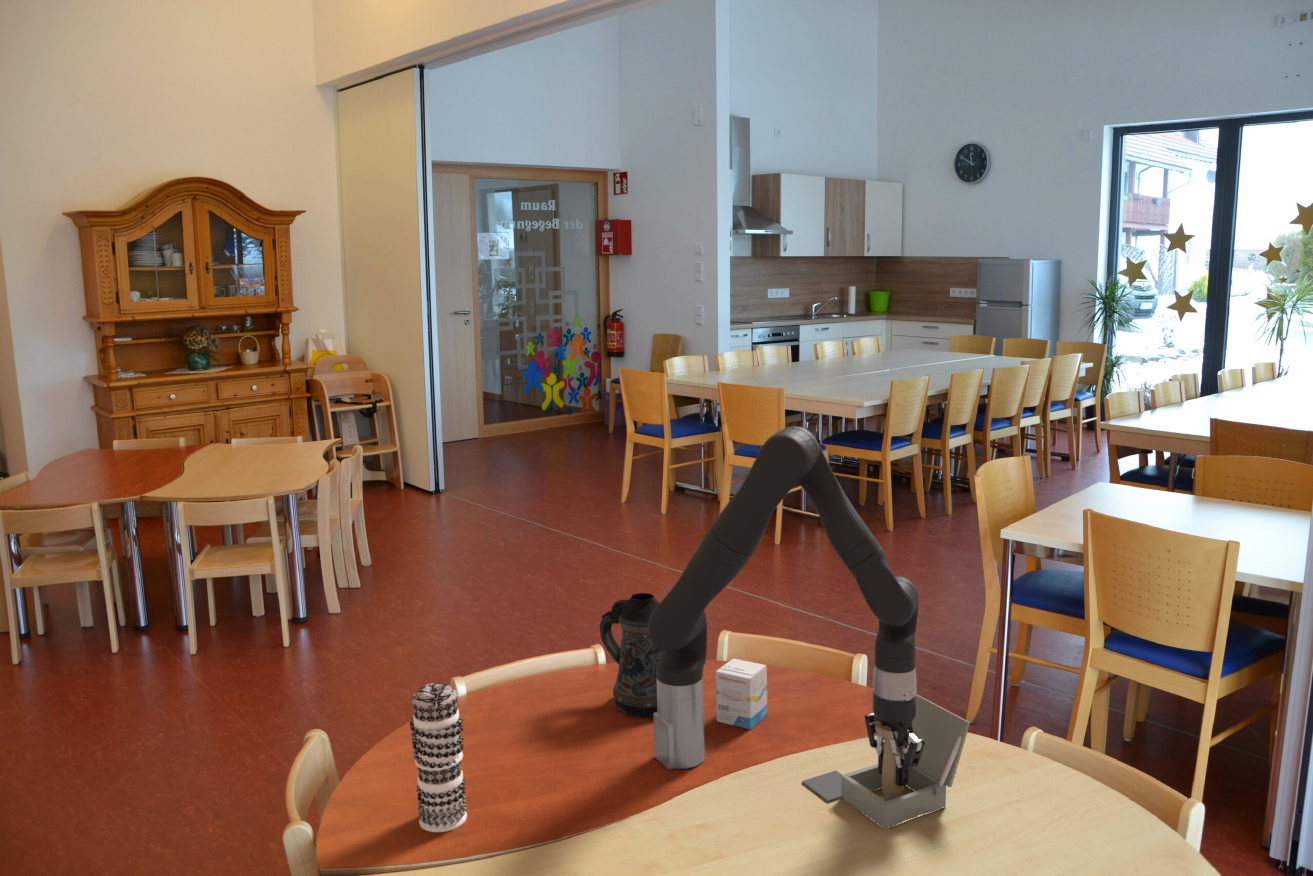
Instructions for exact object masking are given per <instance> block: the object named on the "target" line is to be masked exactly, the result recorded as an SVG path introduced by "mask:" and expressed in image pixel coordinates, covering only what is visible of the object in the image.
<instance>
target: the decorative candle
mask: <svg viewBox="0 0 1313 876" xmlns="http://www.w3.org/2000/svg"><path fill="white" fill-rule="evenodd" d="M458 696H459V693H458V691H457V690H456V689H453V688H452V686H450V685H449V684H446V683H443V682H433V683H432V682H431V683H427V684H424V685H422V686H421V687H419V688H418V690H417V692H416V693H414V694H413V695H412V696H411V699H410V701H411V703H412V704H413V706H412V707H413V715H412V718H411V721H410V722H409V725H410V727H409V729H410V730H411V731H412V732H411V734H410V736H411V740H412V743H411V744H412V749H413V750H414V751H413V752H412V753H413V759H414V763H415V766H416V767H417V773H418V775H417V785H416V792H417V798H416V799H417V801H418V802H417V811H418V818H419V820H418V823H419V826H420V828H421V829H423V830H425V831H426V832H430V833H445V832H448V831H452V830H455V829H457V828H460V827H461V826H462V825H463V824H464V823H465V822H466V821H467V817H468V813H467V812H466V811H467V809H468V808H467V804H466V803H467V796H466V795H465V794H466V792H467V791H466V787H465V786H466V785H465V784H466V782H465V781H466V780H465V779H464V772H463V770H462V769H463V768H462V760H463V758H464V753H463V751H464V744H463V743H462V742H464V737H463V735H462V732H463V731H464V726H463V725H462V723H463V722H464V719H463V717H462V716H461V715H460V712H459V711H460V709H459V708H458V699H457V698H458Z"/></svg>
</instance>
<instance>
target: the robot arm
mask: <svg viewBox="0 0 1313 876" xmlns="http://www.w3.org/2000/svg"><path fill="white" fill-rule="evenodd" d="M797 484H798V485H799V486H800V487H801V488H802V489H803V490H804V491H805V493H806V495H807V496H808V498H809V499H810V501H811V503H812V504H813V506H814V508H815V510H816V512H817V514H818V517H819V520H820V521H821V525H822V527H823V529H824V531H825V534H826V536H827V539H828V540H829V542H830V545H831V546H832V548H833V550H834V551H835V552H836V554H837V555H838V556H839V558H840V559H841V561H842V562H843V564H844V565H845V567H846V568H847V569H848V571H849V572H850V573H851V574H852V576H853V577H854V580H855V581H856V583H857V586H858V588H859V590H860V592H861V593H862V596H863V598H864V600H865V602H866V604H867V606H868V608H869V609H870V611H871V612H872V613H873V615H874V616H875V617H876V619H878V632H877V634H876V637H875V643H874V668H873V675H872V713H868V714H865V715H864V722H865V727H866V731H867V737H868V742H869V746H870V747H871V748H872V749H875V753H876V755H877V764H878V769H879V773H880V774H881V775H882V765H883V753H884V737H882V736H881V735H879V734H878V733H877V732H876V722H877V721H880V722H881V723H882V724H879V725H881V726H885V725H886V726H888V727H890V728H891V729H890V730H889V731H891V735H890V736H891V739H892V740H890V741H891V747H892V753H893V754H894V755H895V758H896V764H897V766H896V785H898V786H899V787H901V786H904V787H905V785H906V784H907V783H908V782H909V768H911V767H914V766H918V764H919V761H920V758H921V755H922V752H923V749H924V746H925V741H924V739H918V738H917V737H916V736H915V735H914V734H913V733H914V731H913V727H912V721H913V719H914V717H915V715H916V694H917V675H916V674H917V673H916V672H917V671H916V630H917V625H918V615H919V592H918V589H917V588H916V586H915V584H914V583H913V582H912V581H911V580H909V579H908V578H906V577H904V576H900V575H898V576H895V574H894V573H893V571H892V570H891V568H890V565H889V558H888V555H887V553H886V552H885V550H884V548H883V547H882V545H881V544H880V543H879V541H878V540H877V539H876V537H875V535H874V534H873V533H872V531H871V530H870V529H869V527H868V526H867V525H866V523H865V522H864V520H863V519H862V518H861V516H860V515H859V513H858V512H857V510H856V509H855V507H854V506H853V504H852V502H851V501H850V499H849V498H848V495H846V493H845V491H844V489H843V488H842V485H841V484H840V482H839V480H838V479H837V477H836V475H835V473H834V472H833V469H832V468H831V465H830V463H829V461H828V458H826V455H825V453H824V451H823V449H822V447H821V446H820V443H819V441H818V439H817V438H816V437H815V435H813V433H811V431H809V430H808V429H806V428H805V427H801V426H796V425H795V426H788V427H784V428H782V429H781V430H779V431H777V432H776V433H774V434H772V435H771V436H769V438H767V439H766V441H765V442H763V445H762V446H761V448H760V449H759V452H758V454H757V455H756V458H755V460H754V462H753V464H752V466H751V468H750V469H749V472H748V473H747V475H746V477H745V479H744V481H743V483H742V485H741V486H740V488H739V489H738V490H737V492H736V493H735V494H734V495H733V497H732V498H731V499H730V500H729V502H727V504H726V505H725V506H724V508H723V509H722V510H721V512H720V513H719V515H718V516H717V517H716V519H715V520H714V522H713V523H712V525H711V526H710V527H709V529H708V531H706V534H705V535H704V537H703V539H702V540H701V541H700V543H699V545H698V547H697V548H696V550H695V552H694V553H693V554H692V556H691V558H690V559H689V561H688V563H687V565H686V566H685V568H684V570H683V572H682V574H681V575H680V577H679V579H678V580H677V581H676V583H675V584H674V586H673V587H672V588H671V590H670V591H669V592H668V593H667V594H666V595H665V597H664V598H663V599H662V600H661V601H660V602H659V603H660V604H659V605H658V606H657V607H656V608H655V609H654V610H653V612H652V613H651V615H650V618H649V622H648V633H649V636H650V639H651V641H652V643H653V644H654V645H655V646H656V647H658V648H659V649H662V650H663V653H662V655H661V657H660V659H659V661H658V663H657V666H656V677H657V712H655V713H654V718H653V740H654V741H653V742H654V744H653V745H654V746H653V747H654V758H655V759H656V760H658V761H659V762H660V763H661V764H662V765H663V766H664V767H665V768H666V769H668V770H672V769H689V768H690V769H691V768H695V767H697V766H699V765H700V764H702V763H703V762H704V761H705V750H706V749H705V748H706V747H705V711H704V709H705V708H704V707H705V706H704V704H705V703H704V667H705V664H706V661H707V657H708V656H707V653H708V651H707V650H708V620H707V614H706V610H705V609H706V608H707V606H709V604H710V603H711V602H712V600H714V598H715V597H717V596H718V595H719V594H720V593H721V592H722V591H723V590H725V589H726V587H727V586H729V584H730V583H731V582H732V581H733V580H734V579H735V578H736V576H737V575H738V574H740V572H741V571H742V569H743V568H744V567H745V566H746V565H747V563H748V562H749V560H750V558H751V557H753V555H754V553H755V552H756V550H757V548H758V546H759V545H760V543H761V541H762V539H763V537H764V535H765V532H766V530H767V528H768V525H769V521H770V519H771V517H772V516H773V513H774V512H775V509H776V508H777V507H778V506H779V505H780V503H781V502H782V501H783V499H784V498H785V497H786V496H787V495H788V494H789V492H791V490H792V489H793V488H794V487H795V486H796V485H797ZM893 731H897V732H898V738H896V736H895V733H894V732H893ZM875 734H876V738H875ZM900 746H904V747H902V748H899V749H898V747H900ZM902 754H904V758H905V759H903V760H902Z"/></svg>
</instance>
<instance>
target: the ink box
mask: <svg viewBox="0 0 1313 876" xmlns="http://www.w3.org/2000/svg"><path fill="white" fill-rule="evenodd" d="M767 669H768V668H767V665H766V664H762V663H757V662H753V661H748V660H744V659H743V660H742V659H738V658H732V659H731V660H729V661H728V662H727V663H725V664H724V665H722V666H721V667H720V668H718V669H717V670H716V671H715V695H716V696H715V698H716V699H715V703H716V722H718V723H721V724H726V725H730V726H734V727H738V728H739V727H740V728H743V729H746V730H752V729H753V728H755V726H756V725H758V724H759V723H760V722H761V721H762V720H763V719H764V718H766V717H767V716H768V680H767V679H768V678H767V673H768V672H767Z"/></svg>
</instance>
